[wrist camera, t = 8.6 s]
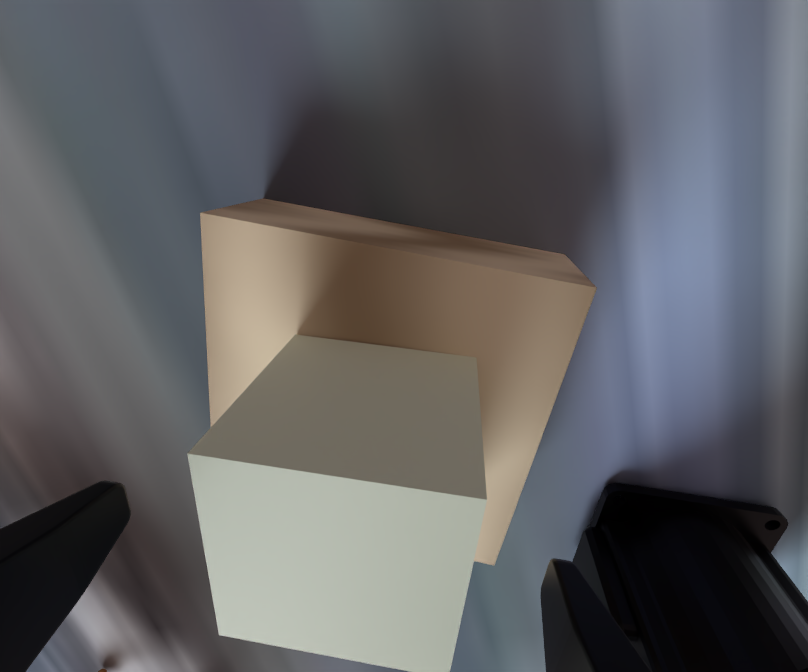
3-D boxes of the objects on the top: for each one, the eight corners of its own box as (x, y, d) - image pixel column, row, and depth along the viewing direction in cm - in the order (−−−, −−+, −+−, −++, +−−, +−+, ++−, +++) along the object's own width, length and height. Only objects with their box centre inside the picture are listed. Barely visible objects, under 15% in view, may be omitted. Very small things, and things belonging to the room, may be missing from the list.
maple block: (562, 251, 14) (596, 287, 10) (488, 481, 18) (494, 565, 14) (268, 197, 14) (200, 212, 11) (264, 431, 18) (214, 500, 15)
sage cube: (476, 357, 11) (487, 499, 7) (452, 497, 13) (448, 678, 9) (295, 334, 12) (187, 453, 7) (299, 473, 14) (218, 635, 9)
